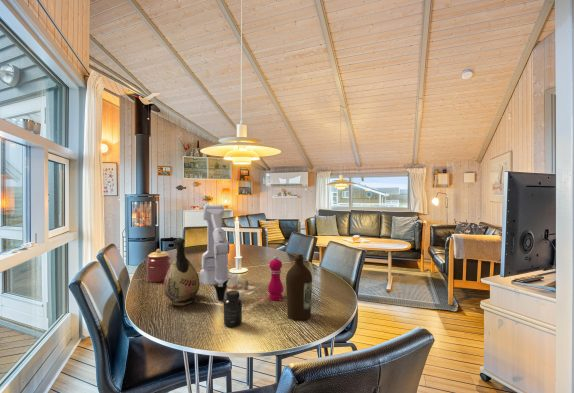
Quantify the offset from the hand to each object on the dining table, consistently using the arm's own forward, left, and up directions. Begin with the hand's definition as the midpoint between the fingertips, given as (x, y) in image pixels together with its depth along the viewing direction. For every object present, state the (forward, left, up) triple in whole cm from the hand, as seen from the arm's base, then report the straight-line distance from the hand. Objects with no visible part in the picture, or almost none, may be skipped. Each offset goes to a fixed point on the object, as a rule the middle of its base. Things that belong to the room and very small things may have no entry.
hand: (221, 297), depth 136 cm
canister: (-53, +15, -2) cm, 55 cm away
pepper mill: (+22, +12, -2) cm, 25 cm away
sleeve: (0, 0, -1) cm, 1 cm away
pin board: (0, +14, -1) cm, 14 cm away
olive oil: (+39, -3, -2) cm, 39 cm away
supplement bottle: (+18, -19, -2) cm, 26 cm away
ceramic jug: (-15, -9, -2) cm, 18 cm away
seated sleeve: (-4, +14, 0) cm, 15 cm away
